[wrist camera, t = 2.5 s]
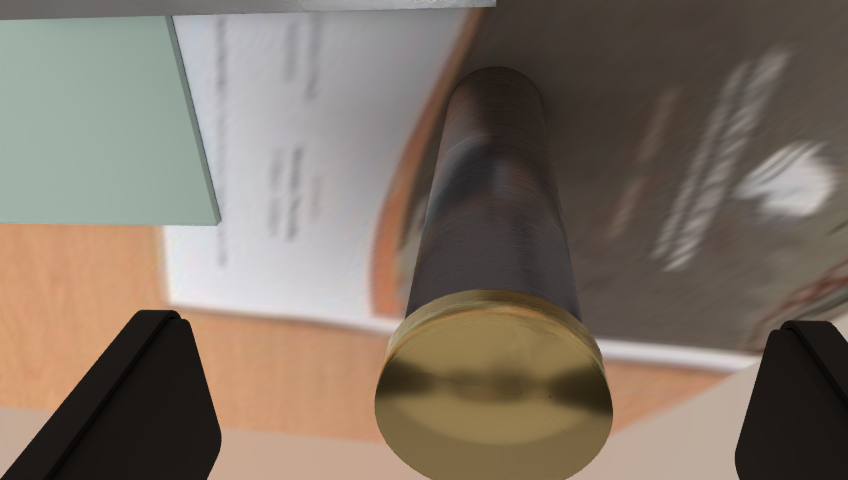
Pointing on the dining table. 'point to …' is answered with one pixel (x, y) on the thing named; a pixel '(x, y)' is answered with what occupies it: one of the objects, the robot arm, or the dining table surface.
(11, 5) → the block
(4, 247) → the dining table surface
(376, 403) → the grey cylinder
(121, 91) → the mat
